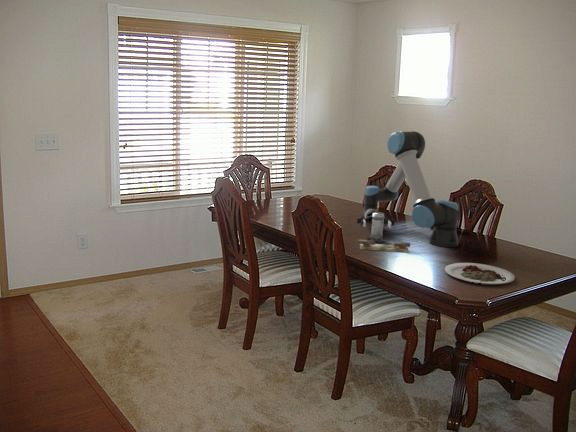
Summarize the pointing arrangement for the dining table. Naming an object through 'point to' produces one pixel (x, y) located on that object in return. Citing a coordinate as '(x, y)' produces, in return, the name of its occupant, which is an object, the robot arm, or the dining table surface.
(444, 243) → the robot arm
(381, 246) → the shaft bench
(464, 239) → the dining table surface
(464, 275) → the plated food
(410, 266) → the dining table surface
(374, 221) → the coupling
